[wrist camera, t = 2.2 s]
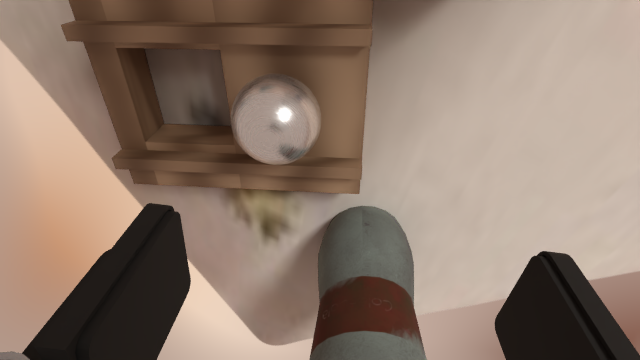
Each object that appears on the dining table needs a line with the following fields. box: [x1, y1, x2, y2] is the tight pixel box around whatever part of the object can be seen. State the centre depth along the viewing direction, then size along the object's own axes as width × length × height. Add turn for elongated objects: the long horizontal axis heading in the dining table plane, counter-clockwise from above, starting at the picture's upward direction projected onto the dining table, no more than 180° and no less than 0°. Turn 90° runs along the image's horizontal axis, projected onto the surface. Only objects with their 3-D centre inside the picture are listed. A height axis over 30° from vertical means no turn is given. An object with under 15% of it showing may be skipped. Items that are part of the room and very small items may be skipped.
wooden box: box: [61, 0, 373, 194], centre depth 28 cm, size 20×16×5 cm
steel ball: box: [231, 74, 321, 165], centre depth 24 cm, size 6×6×6 cm
